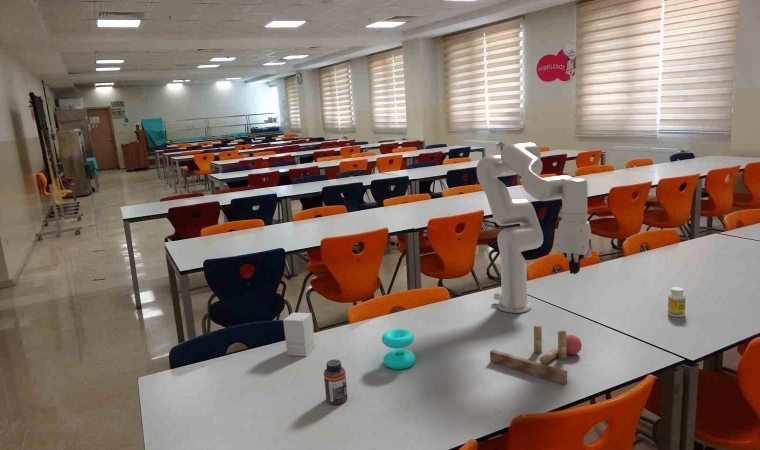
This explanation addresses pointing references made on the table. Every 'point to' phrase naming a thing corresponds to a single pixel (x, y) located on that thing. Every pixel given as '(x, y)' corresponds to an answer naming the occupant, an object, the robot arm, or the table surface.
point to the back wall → (529, 367)
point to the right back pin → (562, 345)
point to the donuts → (398, 356)
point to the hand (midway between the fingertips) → (574, 272)
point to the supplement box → (299, 334)
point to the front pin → (549, 356)
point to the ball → (573, 344)
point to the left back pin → (537, 338)
